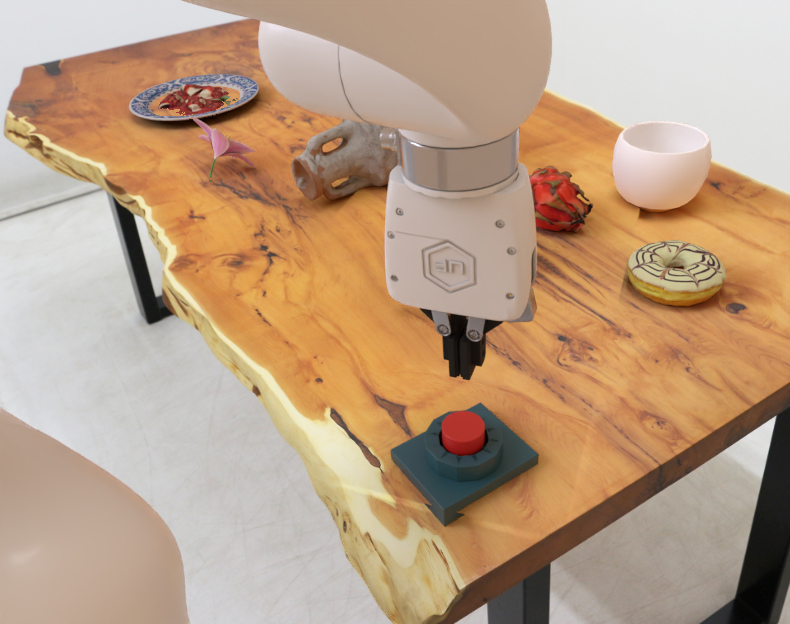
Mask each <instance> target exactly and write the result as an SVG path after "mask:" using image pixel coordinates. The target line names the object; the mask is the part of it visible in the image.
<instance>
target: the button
mask: <svg viewBox="0 0 790 624" xmlns="http://www.w3.org/2000/svg"><path fill="white" fill-rule="evenodd" d="M457 411H458V412H454V413H451V414H450V415H448V416H447V417H446V418H445V419H444V420H443V422H442V442H443V445H444V447H445V448H446V449H447V450H448V451H449V452H450V453H452V454H455V455H459V456H468V455H473V454H475V453H477V452H478V451H480V450H481V449H482V447H483V446H484V443H485V424H484V422H483V420H482V418H481V417H479V416H478V415H477V414H475V413H472V412H468V411H461V410H457Z"/></svg>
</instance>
